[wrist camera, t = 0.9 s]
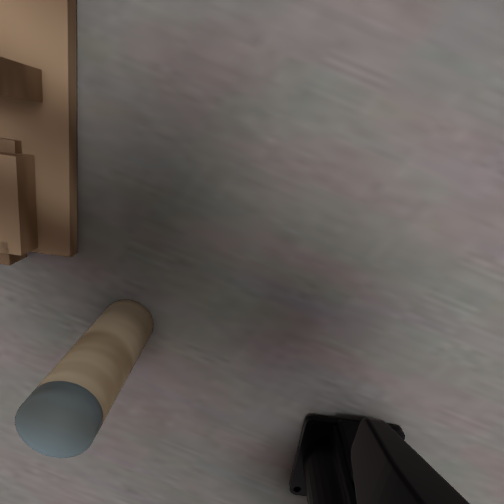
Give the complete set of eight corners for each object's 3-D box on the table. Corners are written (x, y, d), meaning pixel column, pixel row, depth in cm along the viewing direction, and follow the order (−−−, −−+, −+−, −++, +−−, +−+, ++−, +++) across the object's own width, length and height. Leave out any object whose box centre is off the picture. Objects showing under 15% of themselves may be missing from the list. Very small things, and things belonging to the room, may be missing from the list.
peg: (151, 347, 21) (94, 462, 14) (102, 340, 21) (17, 452, 14) (154, 303, 21) (95, 400, 13) (103, 296, 20) (13, 390, 13)
